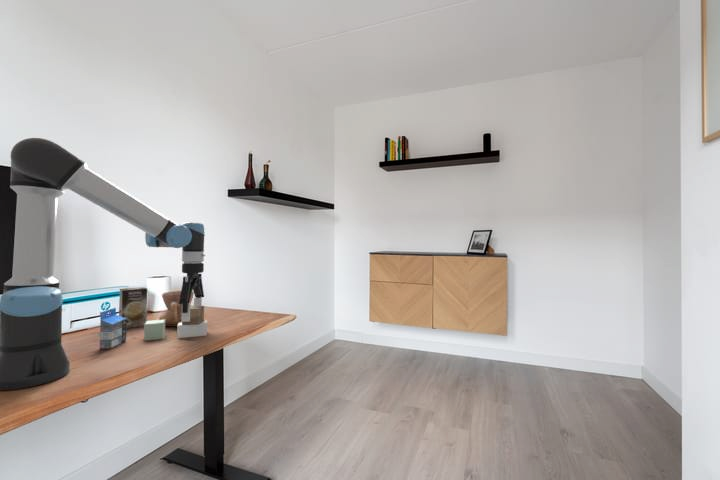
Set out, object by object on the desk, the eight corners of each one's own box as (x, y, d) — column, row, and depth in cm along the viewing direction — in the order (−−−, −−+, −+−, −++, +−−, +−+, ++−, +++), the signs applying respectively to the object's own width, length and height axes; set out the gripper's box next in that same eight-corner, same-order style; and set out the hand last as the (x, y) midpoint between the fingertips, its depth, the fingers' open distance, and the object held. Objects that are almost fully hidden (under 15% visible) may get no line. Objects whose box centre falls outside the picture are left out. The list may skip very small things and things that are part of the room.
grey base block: (206, 336, 128) (206, 323, 128) (177, 338, 124) (177, 325, 124) (206, 332, 133) (207, 320, 133) (178, 335, 129) (178, 322, 129)
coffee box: (121, 329, 137) (121, 290, 137) (118, 326, 141) (118, 288, 141) (147, 325, 143) (147, 288, 143) (143, 322, 148) (143, 286, 148)
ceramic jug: (166, 320, 152) (165, 289, 152) (200, 318, 156) (200, 288, 156) (152, 331, 135) (151, 296, 134) (191, 329, 138) (190, 295, 138)
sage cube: (163, 338, 124) (163, 322, 124) (144, 340, 121) (144, 324, 121) (165, 334, 129) (165, 319, 129) (146, 336, 127) (147, 320, 127)
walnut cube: (198, 324, 126) (199, 308, 126) (182, 325, 125) (182, 309, 125) (203, 320, 132) (204, 305, 132) (187, 321, 131) (188, 306, 131)
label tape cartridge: (111, 349, 111) (112, 312, 112) (99, 349, 111) (99, 312, 111) (126, 341, 120) (127, 307, 120) (115, 341, 120) (115, 307, 120)
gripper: (192, 264, 117) (191, 324, 116) (212, 261, 141) (211, 310, 141) (169, 264, 115) (168, 325, 115) (193, 260, 140) (192, 311, 140)
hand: (192, 317), depth 128 cm, fingers open, 13 cm apart
